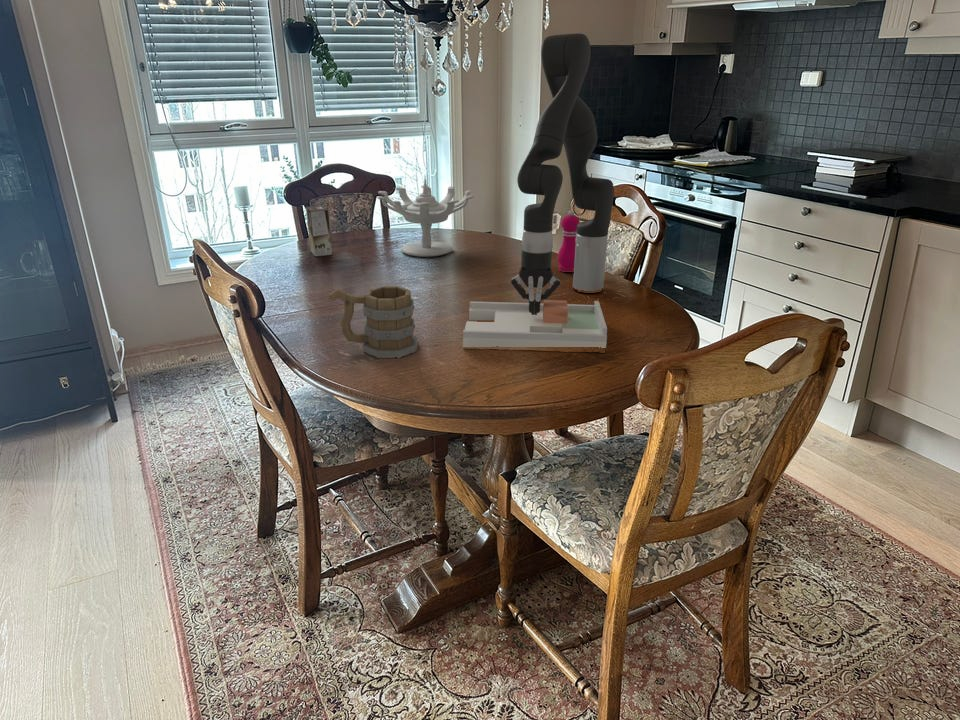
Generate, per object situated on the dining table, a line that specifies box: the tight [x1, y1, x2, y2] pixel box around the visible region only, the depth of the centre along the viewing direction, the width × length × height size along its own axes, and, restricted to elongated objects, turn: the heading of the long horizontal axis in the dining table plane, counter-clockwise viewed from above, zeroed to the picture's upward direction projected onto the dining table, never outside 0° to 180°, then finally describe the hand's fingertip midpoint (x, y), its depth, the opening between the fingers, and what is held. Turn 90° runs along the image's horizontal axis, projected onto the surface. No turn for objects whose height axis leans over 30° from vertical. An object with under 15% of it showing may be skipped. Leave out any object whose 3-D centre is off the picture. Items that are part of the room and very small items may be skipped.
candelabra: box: [377, 177, 475, 258], centre depth 234 cm, size 34×35×27 cm
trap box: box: [462, 300, 608, 349], centre depth 165 cm, size 22×34×6 cm, turn 86°
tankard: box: [328, 285, 419, 359], centre depth 155 cm, size 20×13×15 cm, turn 92°
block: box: [542, 299, 568, 323], centre depth 168 cm, size 6×6×4 cm
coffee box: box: [305, 205, 333, 257], centre depth 234 cm, size 9×6×16 cm
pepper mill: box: [557, 210, 581, 271], centre depth 215 cm, size 7×7×20 cm
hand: (534, 313), depth 169 cm, fingers closed
